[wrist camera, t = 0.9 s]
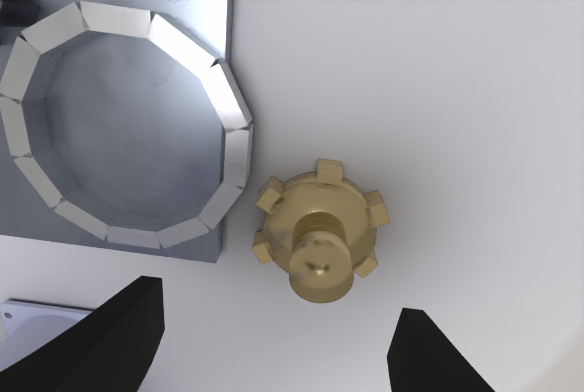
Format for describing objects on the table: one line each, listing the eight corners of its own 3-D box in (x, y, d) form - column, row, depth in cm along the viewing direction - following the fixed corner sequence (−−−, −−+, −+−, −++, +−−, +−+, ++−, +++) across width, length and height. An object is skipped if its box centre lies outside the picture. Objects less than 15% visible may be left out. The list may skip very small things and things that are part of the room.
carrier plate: (245, 254, 21) (234, 289, 18) (5, 222, 21) (-45, 252, 18) (272, -66, 14) (263, -94, 11) (-82, -117, 14) (-185, -159, 11)
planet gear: (364, 280, 21) (380, 349, 16) (252, 265, 21) (236, 330, 16) (394, 168, 18) (425, 214, 13) (263, 150, 18) (247, 190, 13)
